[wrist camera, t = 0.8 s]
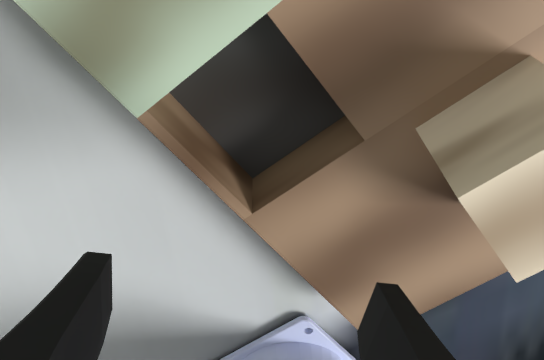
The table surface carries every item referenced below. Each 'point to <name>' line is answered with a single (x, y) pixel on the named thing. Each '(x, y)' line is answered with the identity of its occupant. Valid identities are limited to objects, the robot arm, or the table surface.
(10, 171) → the table surface
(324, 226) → the trap deck
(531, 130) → the birch block
